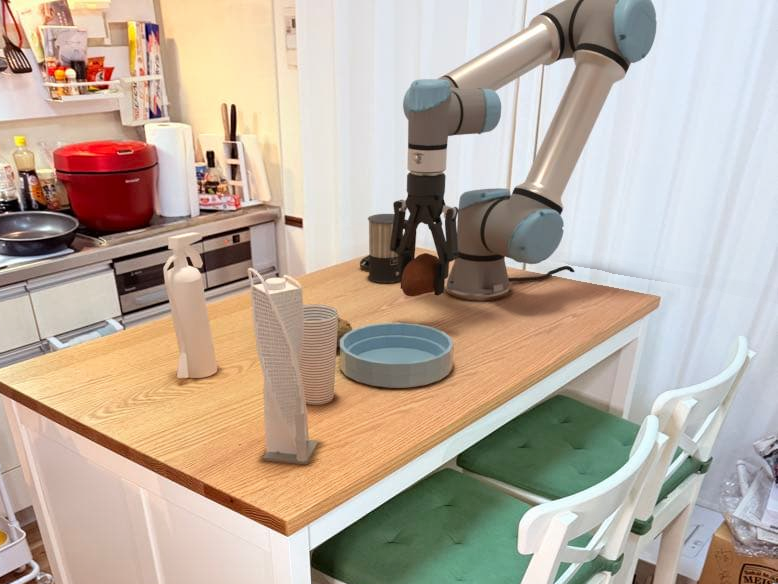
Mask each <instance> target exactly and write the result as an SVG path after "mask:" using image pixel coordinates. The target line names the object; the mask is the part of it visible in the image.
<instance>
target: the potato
mask: <svg viewBox="0 0 778 584" xmlns="http://www.w3.org/2000/svg"><path fill="white" fill-rule="evenodd" d="M437 262H439V258H438V256H436V255H433V254H430V253H427V252H424V253H421V254H418V255H417V256H415V258H414V259H413V260H412V261H411V262H409V263H408V264H407V266H406V267H405V268H404V272H403V275H402V281H400V286H401V285H402V289H401V290H402V293H403V294H404V295H405V296H407V297H410V298H413V297H418V296H422V295H427V294H431V293H435V272H436V263H437Z"/></svg>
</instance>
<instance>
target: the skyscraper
mask: <svg viewBox="0 0 778 584" xmlns="http://www.w3.org/2000/svg"><path fill="white" fill-rule="evenodd" d="M252 273H254V274H255V275H256V276H257V277H258V278H259V280H260V282H261V283H257V284H254V279H253V276H252ZM247 275H248V280H249V285H250V296H251V311H252V323H253V329H254V330H253V332H254V339H255V346H256V351H257V356H258V360H259V365H260V368H261V372H262V375H263V415H264V416H263V417H264V418H263V419H264V432H265V433H264V436H265V451H266V452H265V454H264V455H263V457H262V461H268V462H276V463H277V462H278V463H285V464H287V463H288V464H297V465H304V466H305V465H306V466H307V465H308V463H309V461H310V460H311V458H312V456H313V454H314V452H315V451H316V449H317V447H318V445H319V441H318V440H310V438H309V437H310V436H309V423H308V412H307V411H308V409H307V403H306V401H305V394H304V388H303V383H302V378H301V374H300V370H299V366H300V361H301V355H302V347H303V335H304V311H303V305H304V295H303V286H302V284H301V283H300V282H299V281H297V279H296V278H293V277H292V276H290V275H288V274H284V275H283V276H282V277H269V278H267V279H264V278H263V276H262V275H261V274H260V273H259V272H258V271H257V270H256V269H255V268H253V267H248V269H247ZM288 280H289V281H288ZM290 281H291V282H290Z"/></svg>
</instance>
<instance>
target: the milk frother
mask: <svg viewBox="0 0 778 584" xmlns="http://www.w3.org/2000/svg"><path fill="white" fill-rule="evenodd" d="M367 220H368V244H369V246H368V248H369V249H368V250H369V255H367V256H365V257H363V258H362V259H361V260H360V261H359V267H360V268H361V269H362V270H364V271H369V273H368V277H367V279H368V280H369V281H371V282H374V283H380V284H393V283H397V282H401V271H399V270H398V255H397V253H395V252H394V251H393V252H392V251H391V250H390V242H391V235H392V228H393V221H394V213H377V214H372V215H369V216H368V217H367ZM407 221H408V219H405V221H404V228H403V231H405V229H406V227H407ZM403 235H404V234H403ZM403 235H402V237H403ZM416 244H417V231H416V232H415V235H414V237H413V240H412V242H411V245H410V248H409V250H408V251H409V253H407V254H410V255H411V261H412V260H413V259H415V258H416Z"/></svg>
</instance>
